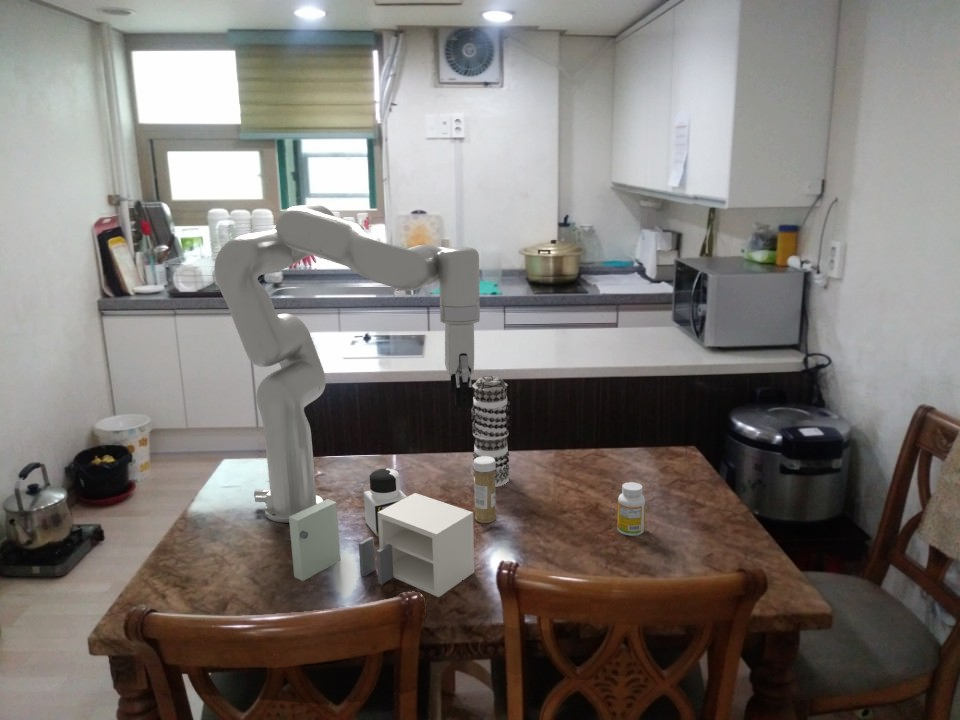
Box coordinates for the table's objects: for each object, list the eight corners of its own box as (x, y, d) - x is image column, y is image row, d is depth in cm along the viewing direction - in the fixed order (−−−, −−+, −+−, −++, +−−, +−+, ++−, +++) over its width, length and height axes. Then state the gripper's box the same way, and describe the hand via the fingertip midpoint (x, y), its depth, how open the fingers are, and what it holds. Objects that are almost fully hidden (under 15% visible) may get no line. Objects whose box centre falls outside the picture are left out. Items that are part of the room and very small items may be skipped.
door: (294, 576, 133) (288, 516, 130) (331, 556, 140) (327, 498, 137) (305, 582, 131) (300, 521, 128) (343, 561, 138) (339, 503, 135)
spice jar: (500, 520, 153) (499, 460, 150) (482, 526, 151) (481, 465, 147) (488, 512, 157) (487, 453, 154) (470, 517, 155) (469, 458, 151)
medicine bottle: (376, 537, 147) (373, 482, 144) (365, 522, 153) (361, 469, 150) (409, 528, 150) (407, 474, 147) (396, 515, 156) (394, 462, 153)
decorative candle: (515, 485, 170) (515, 382, 164) (476, 489, 168) (474, 385, 162) (505, 470, 178) (504, 372, 172) (468, 474, 176) (466, 375, 170)
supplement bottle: (627, 521, 152) (628, 478, 149) (649, 530, 148) (651, 485, 146) (611, 530, 148) (613, 486, 146) (634, 539, 144) (636, 494, 142)
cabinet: (360, 575, 133) (356, 515, 130) (409, 546, 143) (406, 490, 140) (427, 605, 124) (424, 541, 121) (474, 572, 134) (473, 512, 130)
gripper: (436, 305, 146) (438, 387, 150) (443, 323, 129) (445, 414, 134) (474, 304, 147) (475, 385, 151) (485, 321, 130) (486, 412, 135)
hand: (461, 399), depth 143 cm, fingers open, 9 cm apart
